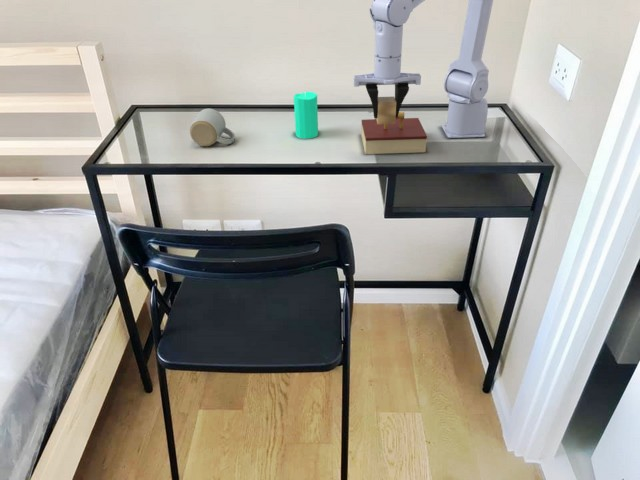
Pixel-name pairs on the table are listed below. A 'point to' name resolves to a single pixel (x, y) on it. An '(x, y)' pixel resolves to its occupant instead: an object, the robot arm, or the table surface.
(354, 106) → the table surface
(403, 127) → the cover
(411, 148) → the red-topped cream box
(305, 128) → the candle
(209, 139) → the ceramic mug
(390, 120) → the block
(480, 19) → the robot arm
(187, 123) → the table surface
